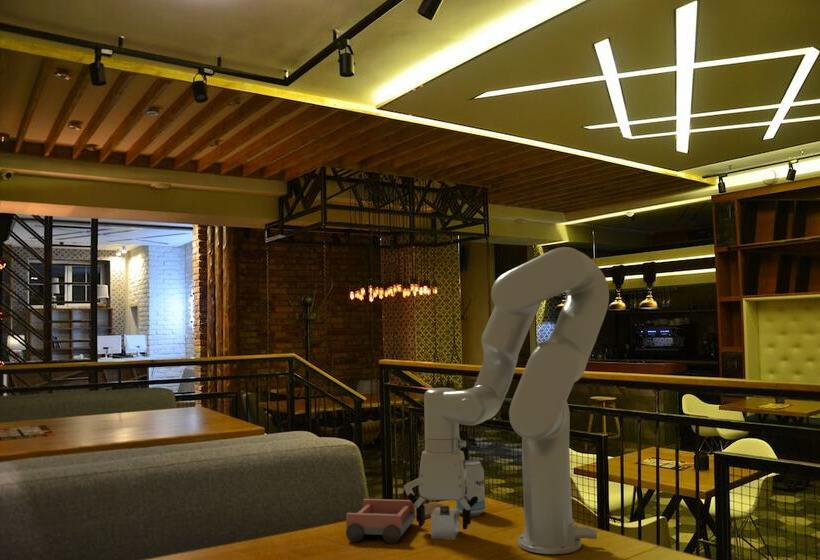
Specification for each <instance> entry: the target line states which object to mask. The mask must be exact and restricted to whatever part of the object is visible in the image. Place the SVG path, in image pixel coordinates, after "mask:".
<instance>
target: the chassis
mask: <svg viewBox="0 0 820 560" xmlns="http://www.w3.org/2000/svg"><path fill="white" fill-rule="evenodd" d="M362 500H363V501H362V505H363V507H362V508H361V509H360V510H358V512H347V513H346V514H345V517H346V518H345V520H346V521H345V523H346V526H345V527H346V531H345V535H346V538H347V539H348V541H350V542H351V543H358V542H360V540H362V539H363V537H364V535H374V536H375V535H378V536H382V539H383V540H384V542H385V543H387V544H389V545H394V544H396V543H397V542H398V541H399V540H400V539H401V537H402V536H403V534H404V533H405V532H406V531H407V529H408V528H409V527H410V526H411V525H412V524H413V522H414V521H416V507H415V506H414V504H413V503H412V502H411V501H410V500H409V499H390V498H389V499H388V498H387V499H384V498H382V499H381V498H364V499H362Z"/></svg>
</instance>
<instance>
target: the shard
mask: <svg viewBox="0 0 820 560" xmlns="http://www.w3.org/2000/svg"><path fill="white" fill-rule="evenodd" d="M423 504H424V506H425V519H427V518H431V517H430V516H431V514H432V512H433V511H434V510H435V508H436V507H438V508H440V506H444V505H445V504H442V503H438V502H436V501H435V502H429V503H423Z"/></svg>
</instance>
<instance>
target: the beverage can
mask: <svg viewBox="0 0 820 560" xmlns="http://www.w3.org/2000/svg"><path fill="white" fill-rule="evenodd" d="M481 463H482V462H481V461H479V460H473V459H472V460H469V459H468V460H466V459H465V464H466V473H467V479H468V480H470V481H472V482H473V483H475V484H477V485H479V486H480V487H482V488H483V491H482V493H481V495H480V497H479V499H478V501H477V502H476V503H475V504H474V505H473V506H472V507H471V517H478V516H480V515H482V513H484V512H485V511H486V495H485V494H486V492H485V469H484V467H483V466H482V464H481ZM474 494H475V492H474V491H473V490H471V489H470V488H468V487H467V494H466V496H467V497H468V499H469V500H470V499H471V498H472V497H473V496H474ZM455 505H456V506H455V508H459V514H460V515H461V516H463V509H464V507H463V505H462V504H461V503H460V502H459V501H455Z"/></svg>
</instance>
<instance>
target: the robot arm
mask: <svg viewBox="0 0 820 560" xmlns="http://www.w3.org/2000/svg"><path fill="white" fill-rule="evenodd" d="M562 293H565V294H566V297H565V302H564V304H563V306H562V309H561V310H560V312H559V315H558V318H557V320H556V323H555V326H554V327H553V330H552V332H551V334H550V336H549V339H547V340H545V341H542V342H541V343H540V344H538V345H537V346H536V347H535V348H534V350H533V351H532V353H531V354H530V356H529V358H528V360H527V363H526V365H525V368H524V370H523V371H522V372H523V373H522V375H521V378H520V380H519V382H518V383H517V387H516V389H515V392H514V395H513V396H512V400H511V403H510V406H509V410H508V417H509V423H510V425H511V427H512V429H513V430H514V432H515V433H516V434H517V436H520V437H521V438H522V441H521V461H522V462H521V463H522V464H521V465H522V468H521V469H522V491H523V492H522V493H523V511H524V513H523V515H524V518H523V519H524V532H523V533H521V534H520V535H518V537H517V545H518V547H520V548H521V549H523V550H525V551H528V552H530V553H535V554H540V555H564V554H569V553H574V552H577V551H578V550H580V549H581V548H582V539H588V540H597V539H598V537H597V529H596V528H590V526H578V524H575V519H574V518H573V506H572V503H573V502H572V482H571V480H572V479H571V459H570V458H571V457H570V431H571V430H570V426H571V425H570V422H571V419H570V417H571V415H570V413H571V412H570V407H569V404H568V399H569V396H570V394H571V391H572V388H573V386H574V383H576V382H578V381H579V380H580V379H581V378H582V376H583V375H584V373H585V371H586V367H587V364H588V361H589V359H590V357H591V353H592V351H593V348H594V347H595V344H596V342H597V339H598V335H599V333H600V330H601V327H602V325H603V323H604V320H605V317H606V314H607V310H608V306H609V302H610V289H609V285H608V282H607V278H606V277H605V274H604V273H603V271H602V270H601V269H600V267H599V266H598V264H597V263H595V261H594V260H593V259H591V258H590V257H589V256H588V255H587V254H585V253H583V252H581V251H579V250H577V249H576V248H574V247H569V246H568V247H567V246H562V247H556V248H553V249H551V250H549V251H547V252H545V253H543V254H540V255H538V256H537V257H534V258H532V259H530V260H528V261H526V262H524V263H522V264H520V265H518V266H516V267H514V268H511V269H510V270H508V271H506V272H504V273H502V274H501V275H500V276H498V277H497V279H495V281H494V283H493V285H492V287H491V299H492V300H491V301H492V302H493V304H494V307H493V310H492V312H491V315H490V317H489V318H488V322H486V323H487V324H486V326H485V328H484V330H483V333H482V334H481V340H480V341H481V347H482V350H483V360H482V365H481V368H480V370H479V373H478V375H477V379H476V380H475V383H474V386H473V387H470V388H468V389H467V388H466V389H462V390H456V389H455V388H452V387H432V388H429V389H427V390H425V392H424V398H423V401H424V404H423V405H424V407H423V408H424V409H423V411H424V414H423V415H424V450H423V451H422V452H421V458H420V466H419V475H418V478H416V479H414V480H411V481H409V482H407V483H406V484H404V485H403V490H404V492H405V494H406V495H407V499H408V500H410V501H411V502H412V503H413V504H414V506H415V515H416V518H415V521H416V522H418V527H420V528H421V527H423V526H424V525H425V524H426V518H425V506H424V504H425V503H424V501H426V500H430V501H431V500H432V501H433V500H435V501H450V502H451V501H454V502H456V501H459V502H460V503H461V504H462V505H463V507H464V509H463V515H462V529H463V530H467V529H468V527H469V525H471V523H472V520H471V519H472V516H471V507H472V506H473V505H474V504H475V503H476V502H477V501H478V499H479V497H480V495H481V493H482V491H483V488H482V487H480V486H479V485H477V484H475V483H473V482H472V481H470V480H468V479H467V473H466V464H465V461H466V459H465V454H464V451H463V450H461V449H462V448H466V447H467V440H463V439H461V437H460V425H464V426H477V425H479V424H482V423H484V422H486V421H487V420H488V421H489V420H490V419H493V418H494V417H495V416H496V415H497V414H498V412H499V411H500V409H501V407H502V405H503V403H504V400H505V398H506V396H507V393H508V391H509V389H510V386H511V383H512V380H513V378H514V375H515V371H516V370H515V369H516V367H517V363H518V360H519V354H520V351H521V349H522V347H523V345H524V341H525V340H526V337H527V335H528V332H529V330H530V327H531V325H532V323H533V321H534V319H535V316H536V314H537V311H538V310H539V306H540V304H541V303H542V302H545V301H548V300H549V299H552V298H554V297H556V296H559V295H560V294H562ZM415 487H418V495H419V497H418V496H417V495H416V493H414V490H413V488H415ZM467 487H468V488H470V489H471V490H473V491H474V492H475V494H474V496H473V497H472V498H471V499H470V500H469V499H468V497H467V496H466V494H467Z"/></svg>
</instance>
